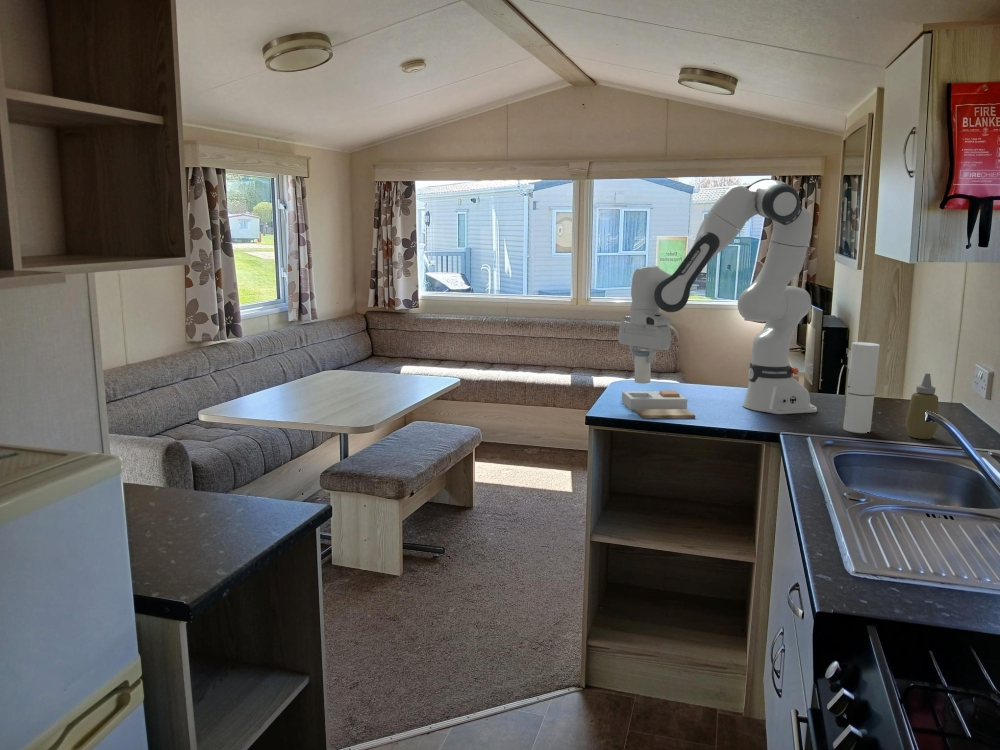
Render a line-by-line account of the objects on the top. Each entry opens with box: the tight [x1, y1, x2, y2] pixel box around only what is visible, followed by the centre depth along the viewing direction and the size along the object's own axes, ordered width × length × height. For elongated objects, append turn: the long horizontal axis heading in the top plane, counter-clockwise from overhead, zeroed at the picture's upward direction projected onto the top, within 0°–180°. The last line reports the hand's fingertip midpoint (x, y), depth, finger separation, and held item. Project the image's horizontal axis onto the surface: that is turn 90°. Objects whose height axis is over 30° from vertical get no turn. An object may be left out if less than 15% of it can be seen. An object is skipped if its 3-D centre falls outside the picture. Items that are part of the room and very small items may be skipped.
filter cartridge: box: [634, 349, 652, 385], centre depth 246 cm, size 5×5×10 cm
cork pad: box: [635, 408, 696, 419], centre depth 236 cm, size 16×8×1 cm, turn 95°
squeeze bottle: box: [905, 372, 939, 440], centre depth 214 cm, size 8×8×18 cm
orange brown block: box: [659, 390, 681, 397], centre depth 248 cm, size 5×5×4 cm
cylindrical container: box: [842, 341, 881, 434], centre depth 220 cm, size 7×7×25 cm
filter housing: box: [621, 390, 688, 411], centre depth 248 cm, size 18×12×4 cm, turn 95°
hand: (642, 361), depth 246 cm, fingers closed on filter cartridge, 5 cm apart
